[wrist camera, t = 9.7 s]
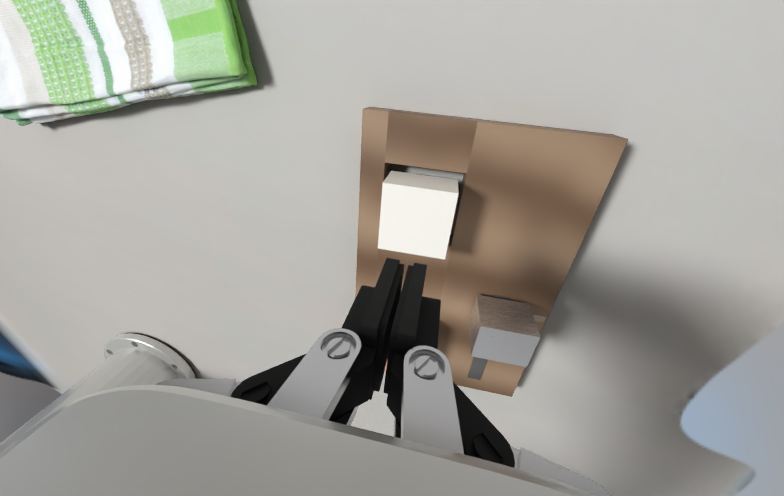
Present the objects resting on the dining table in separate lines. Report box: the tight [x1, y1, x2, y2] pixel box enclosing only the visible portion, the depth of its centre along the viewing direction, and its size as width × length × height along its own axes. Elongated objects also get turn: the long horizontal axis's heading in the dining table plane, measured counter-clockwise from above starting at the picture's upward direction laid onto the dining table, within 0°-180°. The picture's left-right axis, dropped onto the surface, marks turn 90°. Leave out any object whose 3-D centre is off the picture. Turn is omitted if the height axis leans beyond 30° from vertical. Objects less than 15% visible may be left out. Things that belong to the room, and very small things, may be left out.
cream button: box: [378, 171, 459, 260], centre depth 20 cm, size 5×5×3 cm
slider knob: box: [469, 295, 540, 367], centre depth 23 cm, size 3×4×4 cm
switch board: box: [356, 107, 628, 397], centre depth 25 cm, size 24×16×2 cm, turn 175°
